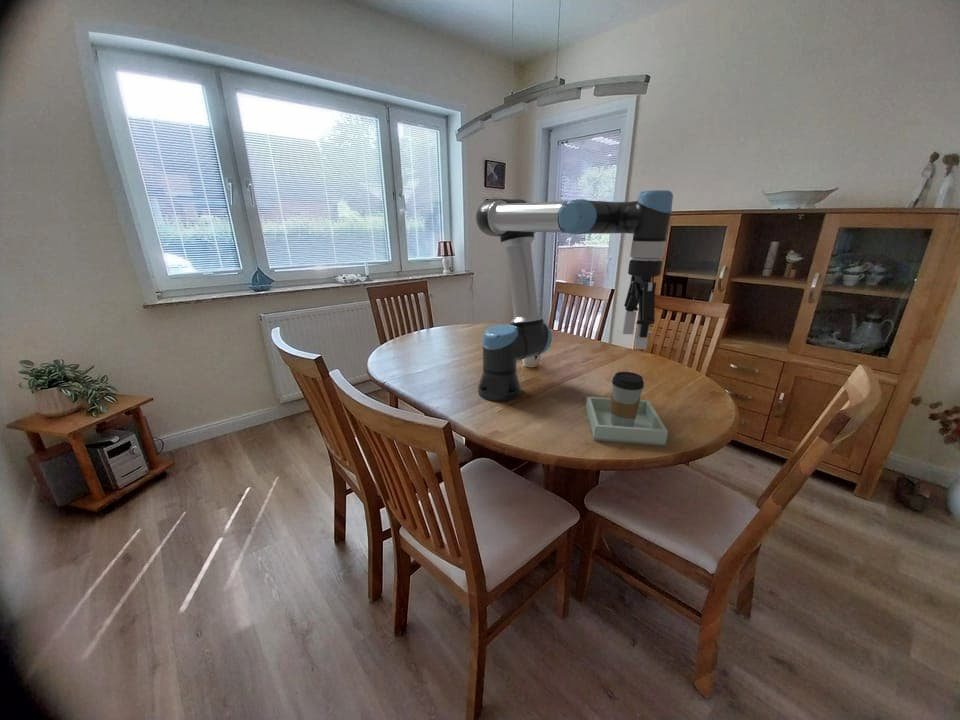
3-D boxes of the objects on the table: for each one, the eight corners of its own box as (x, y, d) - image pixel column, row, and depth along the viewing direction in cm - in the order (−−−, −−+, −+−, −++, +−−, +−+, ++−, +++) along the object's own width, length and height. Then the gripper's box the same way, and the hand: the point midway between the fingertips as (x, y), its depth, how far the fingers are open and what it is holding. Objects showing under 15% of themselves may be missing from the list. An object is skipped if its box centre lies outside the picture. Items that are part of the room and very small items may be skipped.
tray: (593, 440, 98) (595, 426, 97) (585, 409, 115) (587, 396, 114) (665, 446, 96) (668, 431, 94) (646, 413, 113) (648, 400, 111)
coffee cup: (634, 434, 100) (642, 384, 95) (603, 426, 104) (609, 378, 99) (639, 421, 106) (647, 374, 101) (610, 414, 111) (616, 369, 106)
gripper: (680, 264, 77) (662, 357, 85) (648, 255, 100) (636, 329, 108) (643, 263, 78) (629, 355, 86) (620, 255, 101) (610, 328, 109)
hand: (633, 341), depth 97 cm, fingers open, 13 cm apart
